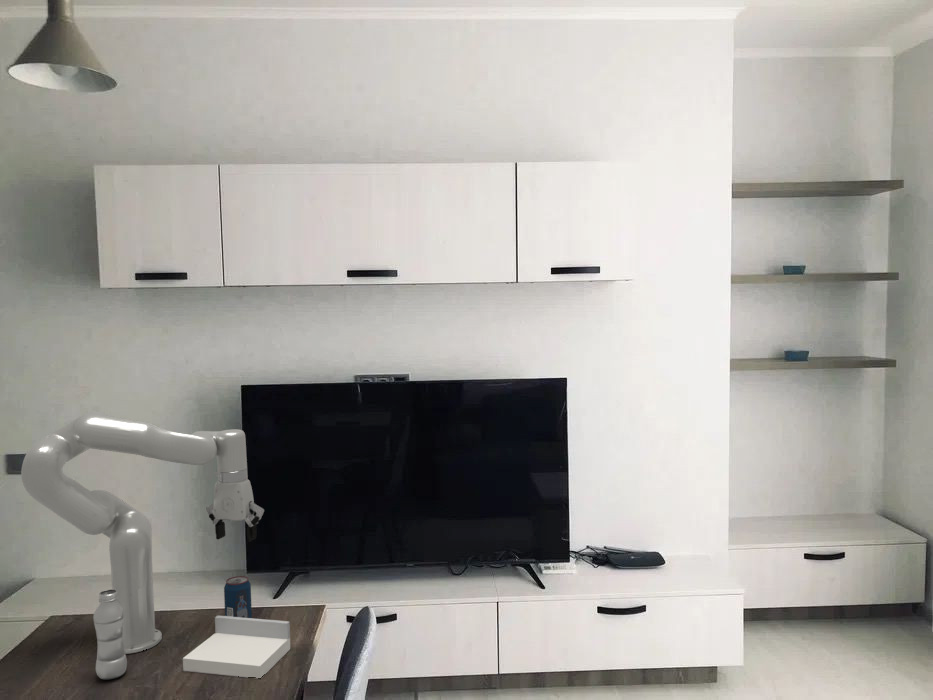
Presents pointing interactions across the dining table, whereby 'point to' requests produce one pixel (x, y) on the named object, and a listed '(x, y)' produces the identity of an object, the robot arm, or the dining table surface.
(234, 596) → the soda can
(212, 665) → the shelf
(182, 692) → the dining table surface
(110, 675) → the plastic bottle
